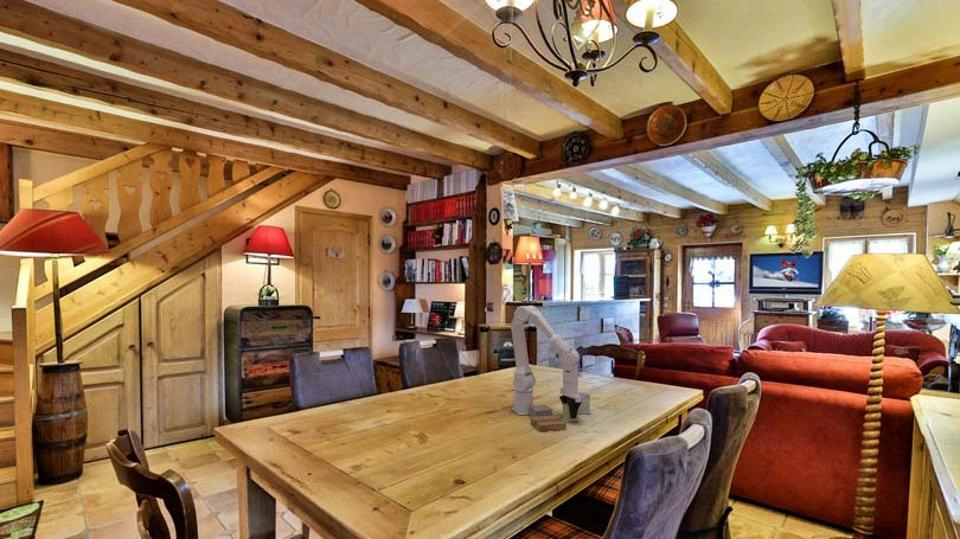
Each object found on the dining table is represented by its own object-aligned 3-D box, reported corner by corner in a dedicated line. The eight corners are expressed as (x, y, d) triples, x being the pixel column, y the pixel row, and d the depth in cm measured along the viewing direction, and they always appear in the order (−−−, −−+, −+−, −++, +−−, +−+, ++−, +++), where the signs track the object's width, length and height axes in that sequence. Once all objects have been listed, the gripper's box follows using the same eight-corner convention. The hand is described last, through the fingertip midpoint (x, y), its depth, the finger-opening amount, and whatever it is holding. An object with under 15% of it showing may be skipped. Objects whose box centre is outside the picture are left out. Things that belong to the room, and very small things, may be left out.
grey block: (529, 416, 177) (529, 406, 177) (544, 414, 179) (544, 404, 179) (536, 421, 171) (536, 410, 171) (552, 419, 173) (552, 409, 173)
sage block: (562, 418, 173) (562, 403, 173) (573, 418, 174) (573, 402, 175) (567, 422, 169) (567, 406, 169) (578, 421, 170) (578, 405, 170)
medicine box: (588, 411, 183) (588, 390, 183) (590, 414, 179) (590, 393, 179) (569, 411, 184) (569, 390, 184) (570, 414, 179) (570, 392, 180)
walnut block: (530, 425, 166) (530, 417, 167) (554, 423, 169) (554, 415, 169) (540, 433, 157) (540, 425, 157) (566, 431, 159) (566, 423, 159)
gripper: (588, 384, 166) (588, 421, 166) (571, 377, 180) (571, 410, 180) (571, 385, 164) (571, 422, 164) (555, 377, 178) (555, 411, 178)
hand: (570, 416), depth 172 cm, fingers closed on sage block, 4 cm apart
